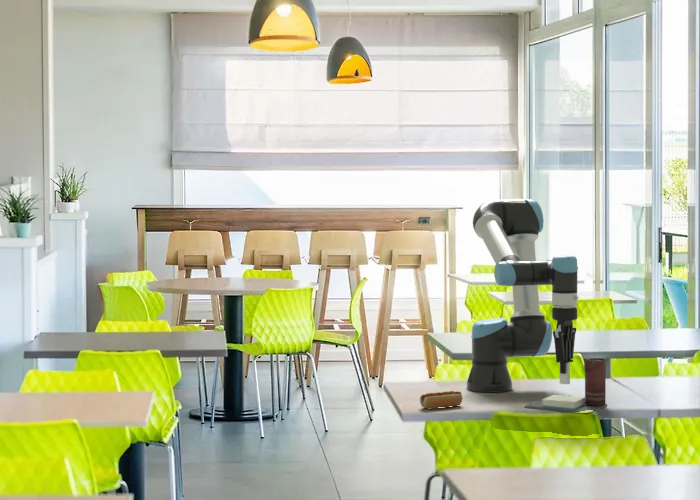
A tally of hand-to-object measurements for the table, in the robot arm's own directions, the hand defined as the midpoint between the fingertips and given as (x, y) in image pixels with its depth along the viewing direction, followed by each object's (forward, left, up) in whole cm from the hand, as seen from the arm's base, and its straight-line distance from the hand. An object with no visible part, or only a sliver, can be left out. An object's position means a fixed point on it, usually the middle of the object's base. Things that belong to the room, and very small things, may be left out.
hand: (564, 383), depth 326 cm
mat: (0, +1, -7) cm, 7 cm away
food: (-32, -20, -8) cm, 38 cm away
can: (+8, +5, -7) cm, 11 cm away
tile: (0, +4, -6) cm, 7 cm away
